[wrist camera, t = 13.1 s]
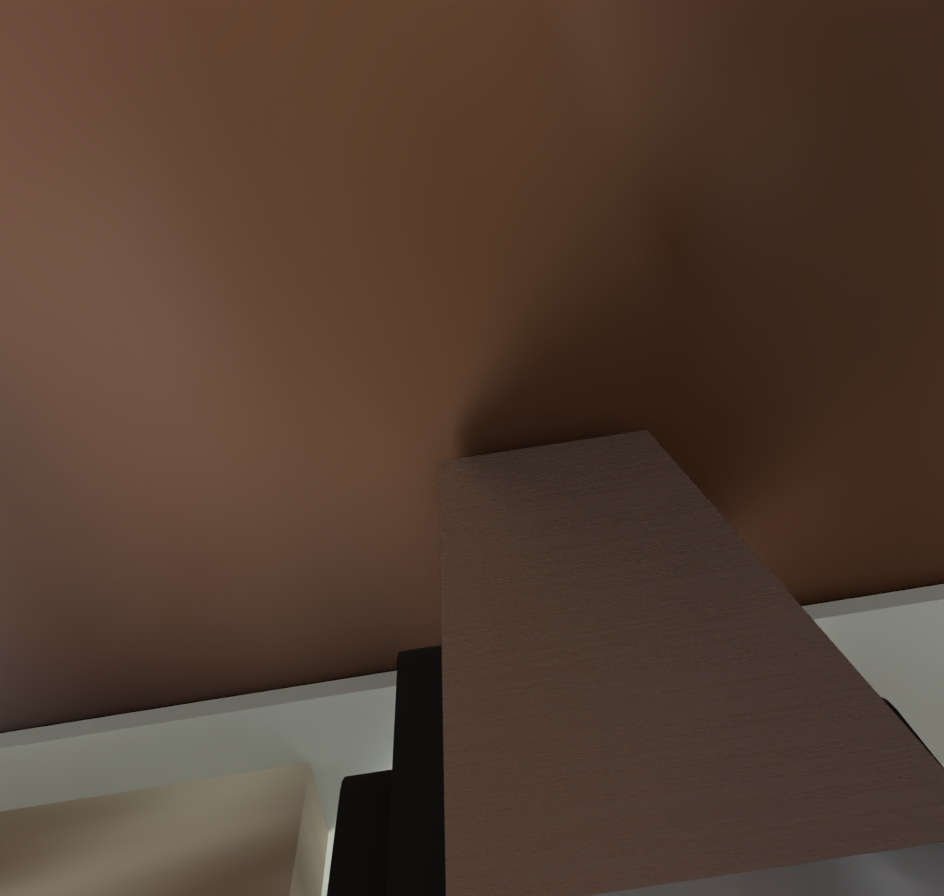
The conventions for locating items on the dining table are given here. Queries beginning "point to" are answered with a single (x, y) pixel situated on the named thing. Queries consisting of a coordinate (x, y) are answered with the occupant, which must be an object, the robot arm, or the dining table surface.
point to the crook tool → (653, 699)
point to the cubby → (173, 840)
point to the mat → (373, 713)
